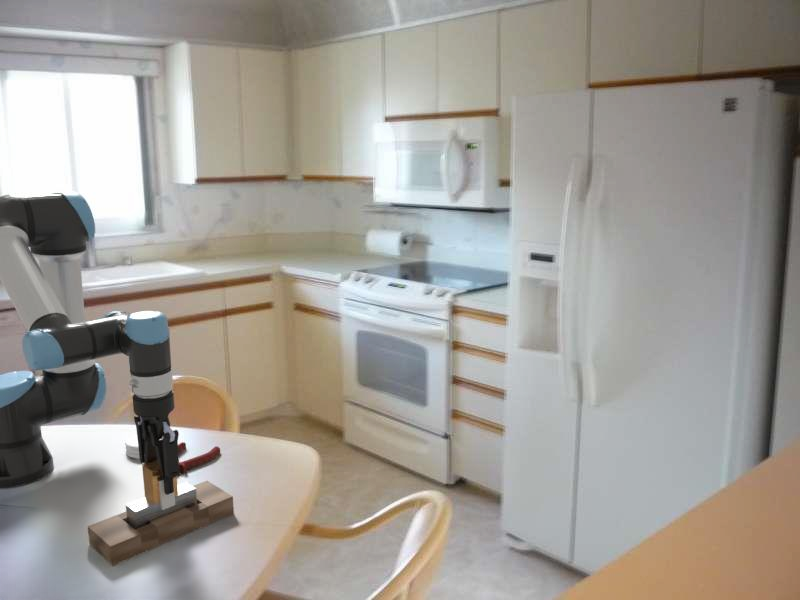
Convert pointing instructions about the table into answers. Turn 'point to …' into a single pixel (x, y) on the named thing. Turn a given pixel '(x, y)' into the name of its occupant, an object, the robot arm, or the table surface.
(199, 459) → the pliers
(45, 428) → the table surface
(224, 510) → the slotted wooden block
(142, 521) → the clip
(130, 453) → the white round stack
